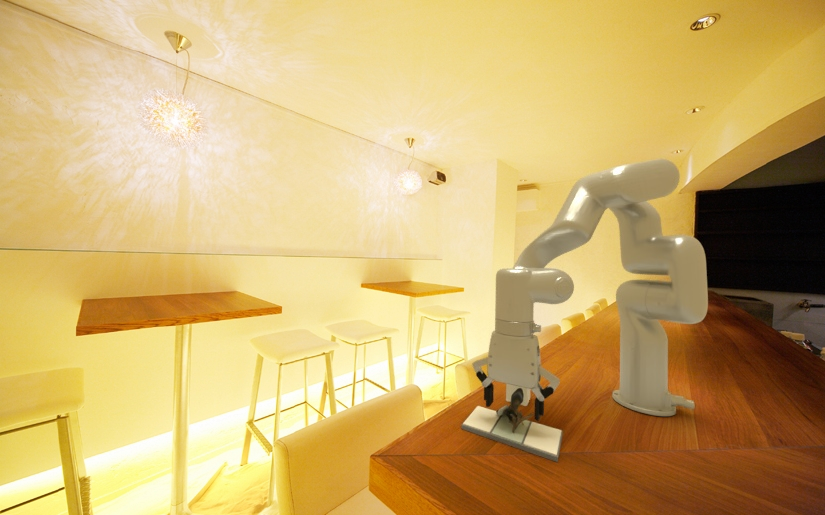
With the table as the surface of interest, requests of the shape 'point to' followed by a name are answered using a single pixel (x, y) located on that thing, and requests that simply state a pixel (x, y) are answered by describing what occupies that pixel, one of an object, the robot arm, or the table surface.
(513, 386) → the die
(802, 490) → the table surface
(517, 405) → the eagle figurine
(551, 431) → the game board
